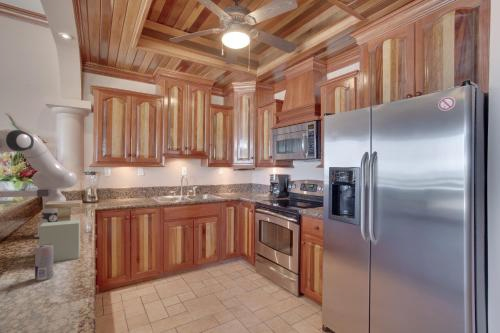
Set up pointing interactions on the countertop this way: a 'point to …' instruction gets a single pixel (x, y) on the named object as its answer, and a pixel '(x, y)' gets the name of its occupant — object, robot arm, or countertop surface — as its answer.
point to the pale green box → (61, 239)
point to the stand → (63, 209)
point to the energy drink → (43, 262)
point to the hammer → (27, 193)
